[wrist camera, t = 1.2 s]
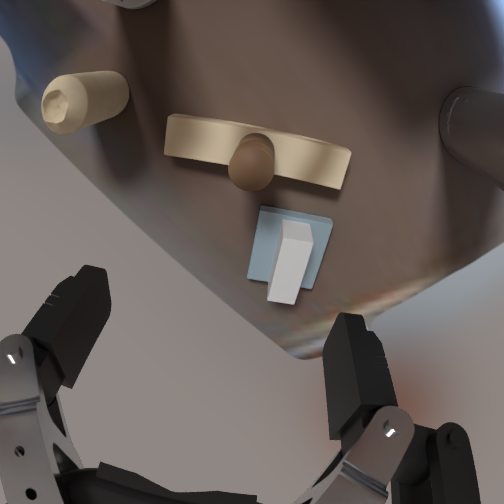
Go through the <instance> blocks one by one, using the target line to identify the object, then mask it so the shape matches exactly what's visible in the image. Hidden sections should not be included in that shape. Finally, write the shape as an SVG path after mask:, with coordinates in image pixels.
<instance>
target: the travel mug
mask: <svg viewBox="0 0 504 504" xmlns="http://www.w3.org/2000/svg"><path fill="white" fill-rule="evenodd" d="M101 1H105V2H108V3H111V4H114V5H118V6H121V7H124V8H127V9H141V8H144V7H147V6H149V5H151V4H152V3H154V2H155V1H157V0H101Z"/></svg>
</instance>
